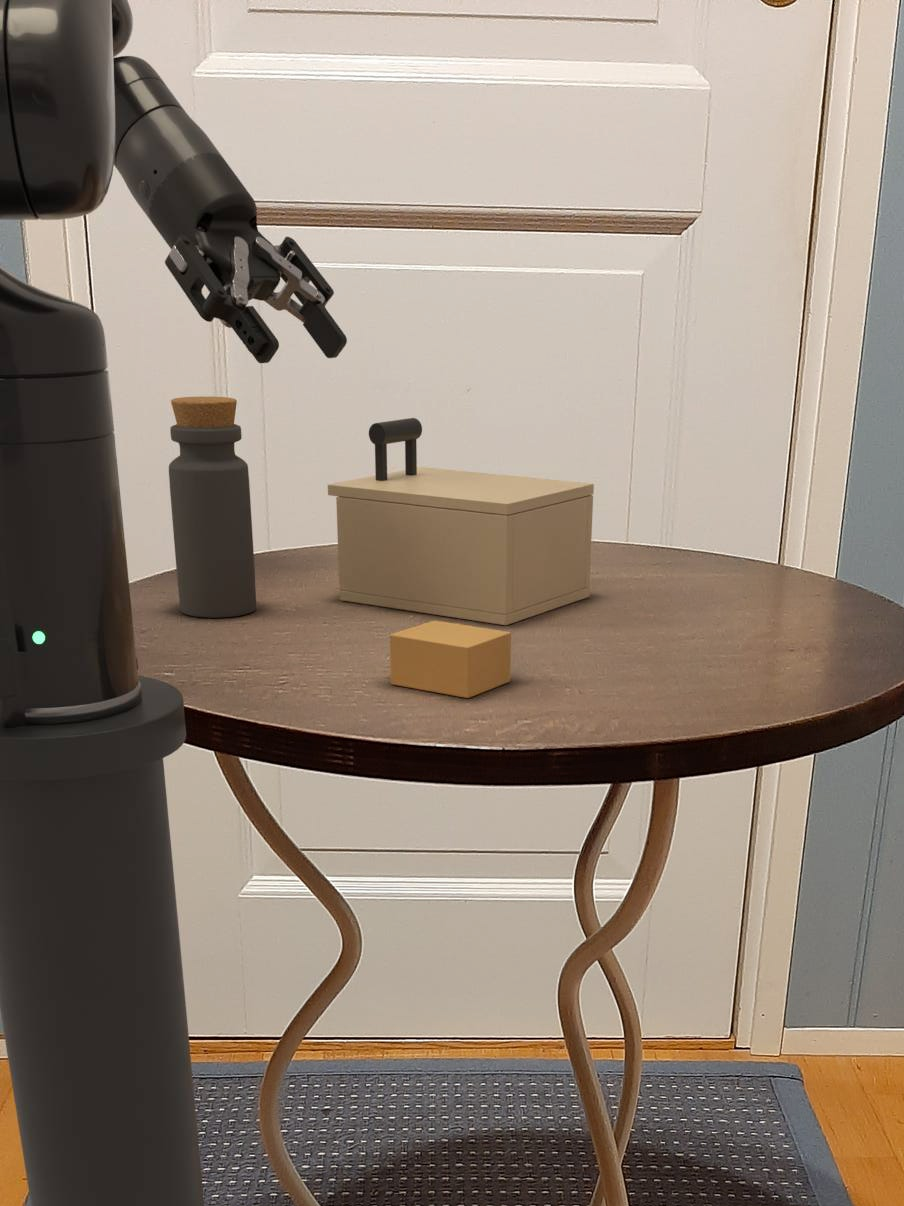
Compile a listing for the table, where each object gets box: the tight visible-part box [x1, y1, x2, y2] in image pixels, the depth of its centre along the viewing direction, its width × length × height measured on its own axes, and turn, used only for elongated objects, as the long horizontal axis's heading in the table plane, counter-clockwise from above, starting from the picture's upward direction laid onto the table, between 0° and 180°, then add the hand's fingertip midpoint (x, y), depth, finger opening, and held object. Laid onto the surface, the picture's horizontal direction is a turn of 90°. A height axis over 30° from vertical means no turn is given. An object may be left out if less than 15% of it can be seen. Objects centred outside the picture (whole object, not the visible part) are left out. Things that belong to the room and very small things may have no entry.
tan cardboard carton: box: [389, 620, 512, 699], centre depth 97 cm, size 6×5×3 cm
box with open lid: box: [335, 494, 594, 627], centre depth 119 cm, size 16×13×8 cm
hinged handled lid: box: [327, 417, 595, 515], centre depth 116 cm, size 16×13×5 cm
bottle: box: [168, 396, 257, 619], centre depth 113 cm, size 6×6×15 cm
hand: (306, 353), depth 120 cm, fingers open, 8 cm apart
